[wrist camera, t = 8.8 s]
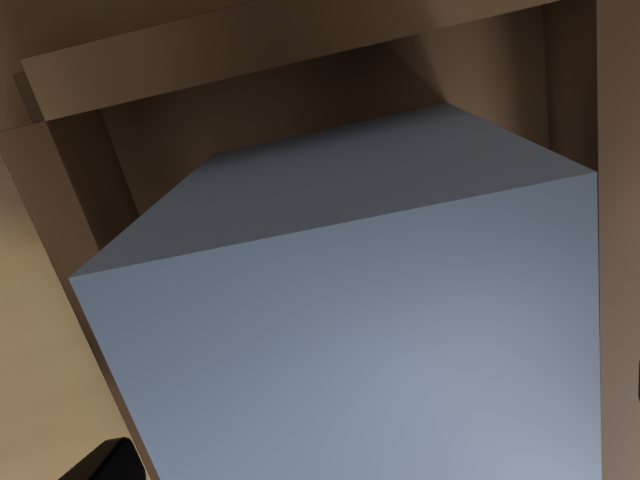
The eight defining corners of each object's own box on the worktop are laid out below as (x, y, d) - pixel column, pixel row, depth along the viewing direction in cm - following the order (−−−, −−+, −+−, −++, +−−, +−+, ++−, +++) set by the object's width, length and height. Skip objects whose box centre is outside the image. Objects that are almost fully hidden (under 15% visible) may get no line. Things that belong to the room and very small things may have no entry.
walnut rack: (597, -65, 9) (707, -113, 7) (602, 464, 14) (666, 564, 12) (40, 72, 11) (-63, 80, 8) (220, 516, 16) (196, 617, 13)
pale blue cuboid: (447, 102, 10) (597, 172, 4) (489, 440, 13) (605, 736, 7) (213, 154, 10) (67, 277, 5) (307, 467, 13) (289, 762, 8)
